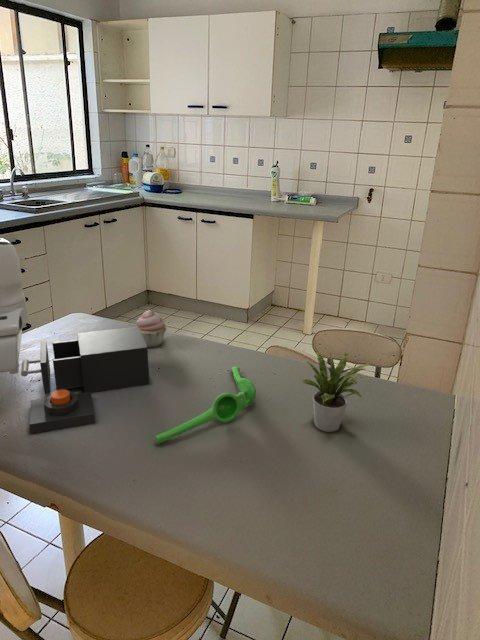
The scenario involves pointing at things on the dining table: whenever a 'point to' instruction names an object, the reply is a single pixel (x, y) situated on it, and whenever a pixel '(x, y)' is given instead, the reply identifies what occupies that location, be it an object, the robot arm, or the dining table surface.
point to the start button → (60, 397)
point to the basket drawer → (58, 365)
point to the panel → (61, 413)
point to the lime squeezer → (218, 408)
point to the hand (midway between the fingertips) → (14, 370)
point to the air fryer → (113, 359)
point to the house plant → (332, 392)
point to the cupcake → (151, 328)
